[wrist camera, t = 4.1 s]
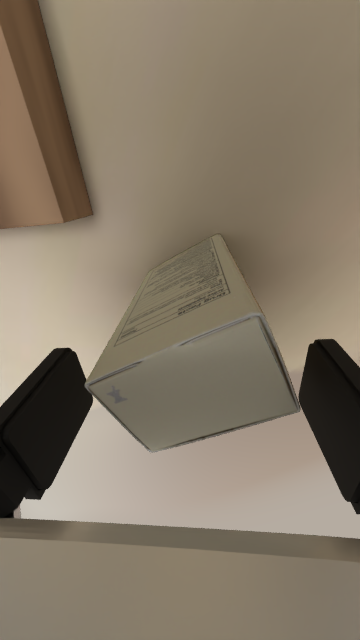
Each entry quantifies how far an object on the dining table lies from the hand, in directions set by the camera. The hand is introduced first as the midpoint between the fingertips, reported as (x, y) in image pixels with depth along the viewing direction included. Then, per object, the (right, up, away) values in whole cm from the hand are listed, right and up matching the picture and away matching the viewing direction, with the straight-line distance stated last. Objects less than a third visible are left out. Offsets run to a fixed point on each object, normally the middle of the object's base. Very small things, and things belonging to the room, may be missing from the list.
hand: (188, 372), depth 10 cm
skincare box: (+1, +6, +9) cm, 10 cm away
